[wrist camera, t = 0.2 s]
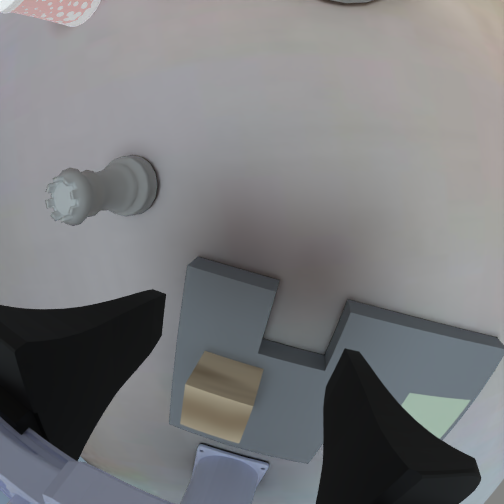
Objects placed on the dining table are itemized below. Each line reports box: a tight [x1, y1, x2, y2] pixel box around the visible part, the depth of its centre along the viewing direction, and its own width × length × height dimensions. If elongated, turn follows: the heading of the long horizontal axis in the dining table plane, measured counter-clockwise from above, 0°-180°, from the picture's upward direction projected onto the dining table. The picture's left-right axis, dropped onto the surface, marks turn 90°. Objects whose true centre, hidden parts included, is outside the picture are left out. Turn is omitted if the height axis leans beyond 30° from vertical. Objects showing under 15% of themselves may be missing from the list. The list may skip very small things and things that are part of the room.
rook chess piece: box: [45, 155, 157, 226], centre depth 17 cm, size 4×4×8 cm
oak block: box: [180, 351, 263, 443], centre depth 20 cm, size 4×4×4 cm
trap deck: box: [169, 257, 504, 464], centre depth 22 cm, size 17×26×2 cm, turn 77°
